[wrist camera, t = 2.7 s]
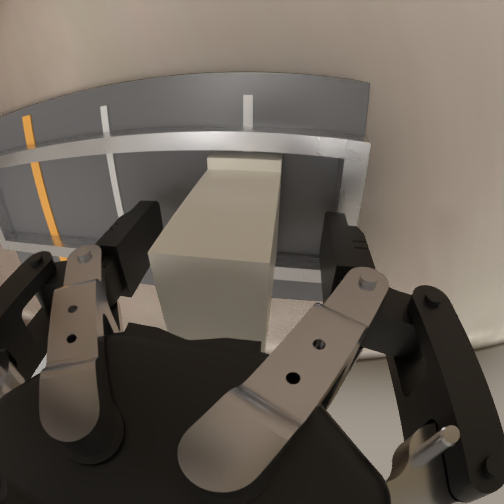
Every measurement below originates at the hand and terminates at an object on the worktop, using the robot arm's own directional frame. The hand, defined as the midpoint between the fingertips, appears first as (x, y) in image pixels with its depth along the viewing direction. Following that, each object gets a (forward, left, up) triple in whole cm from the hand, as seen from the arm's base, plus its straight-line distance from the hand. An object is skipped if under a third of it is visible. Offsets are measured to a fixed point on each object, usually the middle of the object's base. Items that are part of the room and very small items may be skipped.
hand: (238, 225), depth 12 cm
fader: (0, 0, -2) cm, 2 cm away
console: (+7, 0, -4) cm, 8 cm away
